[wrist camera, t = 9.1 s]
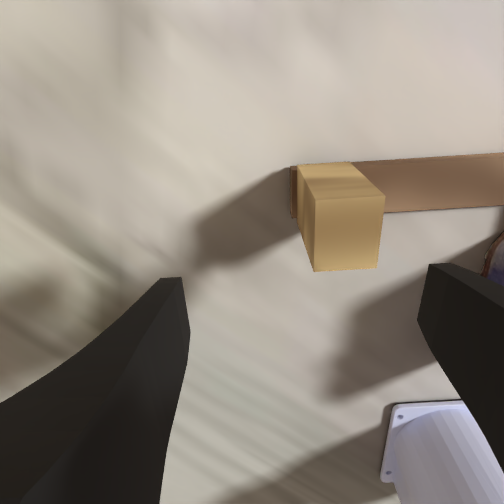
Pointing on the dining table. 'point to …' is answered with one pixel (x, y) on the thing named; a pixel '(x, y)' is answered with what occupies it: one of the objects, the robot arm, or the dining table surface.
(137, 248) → the dining table surface
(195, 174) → the dining table surface
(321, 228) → the wooden t-shaped handle
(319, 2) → the dining table surface
